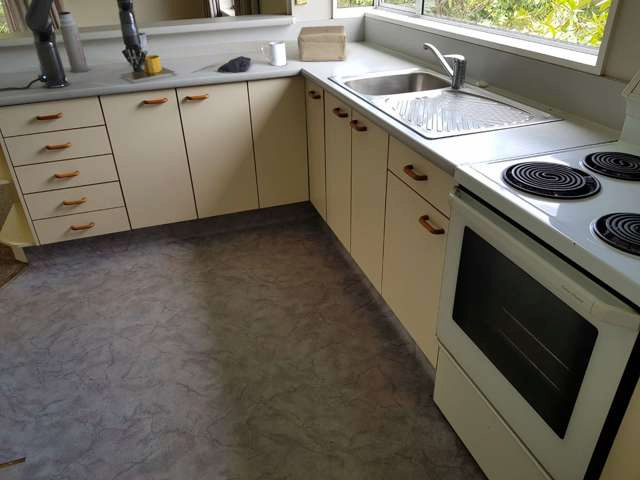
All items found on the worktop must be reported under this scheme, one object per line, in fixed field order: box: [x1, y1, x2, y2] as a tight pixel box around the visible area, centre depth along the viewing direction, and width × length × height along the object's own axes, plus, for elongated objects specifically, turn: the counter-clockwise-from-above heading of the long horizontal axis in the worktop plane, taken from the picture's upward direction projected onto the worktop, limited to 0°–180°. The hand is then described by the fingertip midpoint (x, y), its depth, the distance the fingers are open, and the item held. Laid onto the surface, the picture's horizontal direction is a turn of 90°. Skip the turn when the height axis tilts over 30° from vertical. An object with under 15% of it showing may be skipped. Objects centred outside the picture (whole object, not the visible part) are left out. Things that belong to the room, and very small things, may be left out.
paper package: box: [297, 25, 347, 62], centre depth 275 cm, size 27×26×14 cm
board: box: [120, 66, 175, 81], centre depth 250 cm, size 22×16×2 cm
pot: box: [131, 54, 163, 73], centre depth 248 cm, size 17×8×6 cm, turn 157°
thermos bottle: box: [58, 11, 89, 73], centre depth 257 cm, size 8×8×28 cm
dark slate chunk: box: [217, 55, 252, 73], centre depth 260 cm, size 15×22×5 cm
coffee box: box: [129, 32, 150, 66], centre depth 267 cm, size 9×6×16 cm
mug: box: [260, 41, 287, 67], centre depth 263 cm, size 12×8×10 cm, turn 87°
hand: (138, 71), depth 244 cm, fingers closed on pot
